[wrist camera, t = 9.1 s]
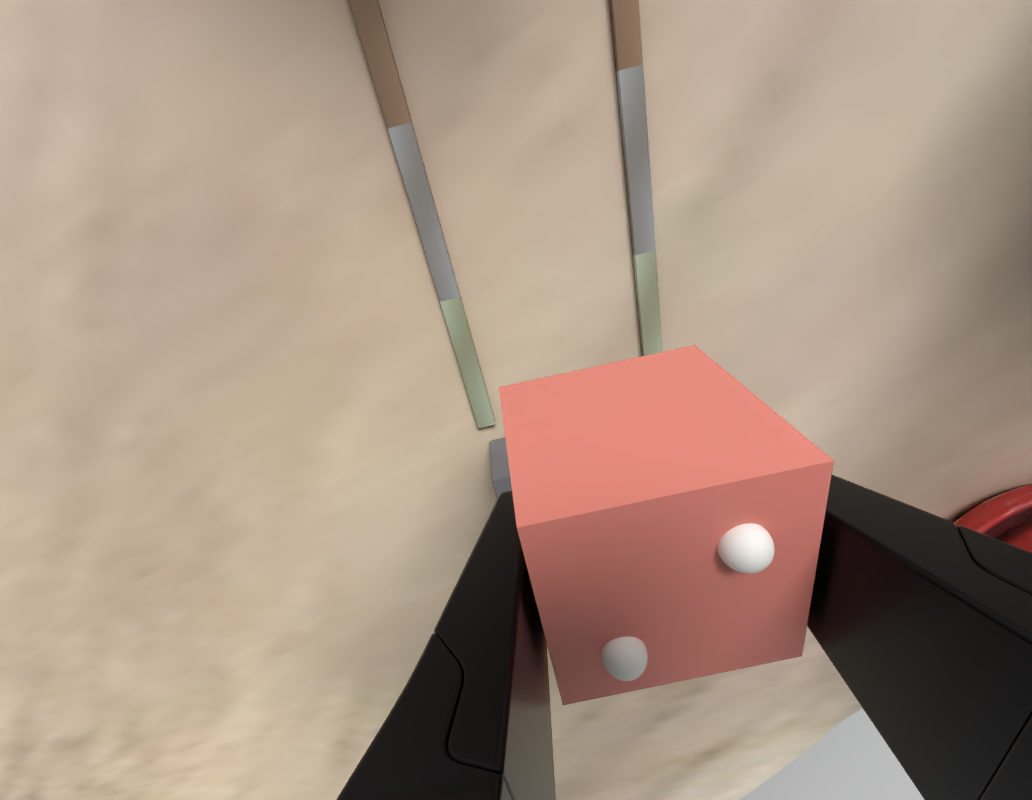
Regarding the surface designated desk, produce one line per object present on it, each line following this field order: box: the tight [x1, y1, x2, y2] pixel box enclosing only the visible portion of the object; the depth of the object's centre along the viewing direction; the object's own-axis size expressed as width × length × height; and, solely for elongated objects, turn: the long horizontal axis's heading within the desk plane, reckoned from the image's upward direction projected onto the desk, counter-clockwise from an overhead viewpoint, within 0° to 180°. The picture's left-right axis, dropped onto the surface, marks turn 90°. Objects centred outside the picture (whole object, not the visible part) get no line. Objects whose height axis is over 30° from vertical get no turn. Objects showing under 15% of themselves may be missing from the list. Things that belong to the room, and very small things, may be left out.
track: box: [349, 0, 663, 428], centre depth 17 cm, size 9×18×1 cm, turn 12°
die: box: [499, 345, 834, 705], centre depth 8 cm, size 4×4×4 cm
